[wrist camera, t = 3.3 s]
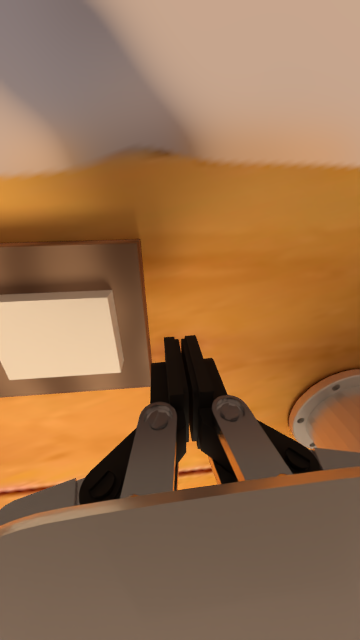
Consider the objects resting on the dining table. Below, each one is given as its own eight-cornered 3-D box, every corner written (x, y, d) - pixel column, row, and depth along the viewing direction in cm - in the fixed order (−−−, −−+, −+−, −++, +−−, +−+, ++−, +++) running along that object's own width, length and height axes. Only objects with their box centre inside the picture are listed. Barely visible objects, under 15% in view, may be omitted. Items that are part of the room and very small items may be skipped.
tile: (112, 289, 15) (107, 297, 13) (123, 360, 17) (120, 372, 16) (-10, 295, 14) (-28, 303, 13) (21, 366, 17) (9, 380, 16)
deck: (140, 239, 16) (136, 243, 14) (152, 368, 21) (151, 386, 19) (-63, 244, 15) (-102, 250, 13) (3, 378, 20) (-16, 398, 18)
